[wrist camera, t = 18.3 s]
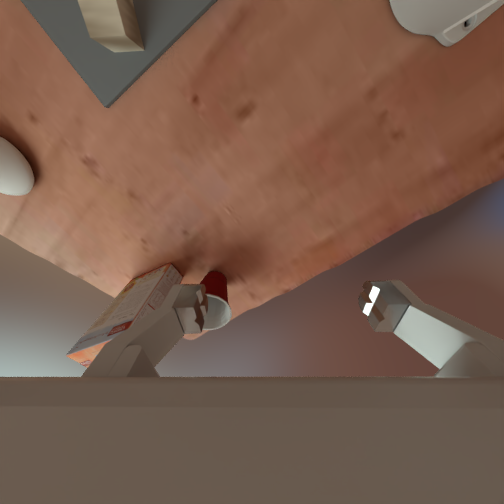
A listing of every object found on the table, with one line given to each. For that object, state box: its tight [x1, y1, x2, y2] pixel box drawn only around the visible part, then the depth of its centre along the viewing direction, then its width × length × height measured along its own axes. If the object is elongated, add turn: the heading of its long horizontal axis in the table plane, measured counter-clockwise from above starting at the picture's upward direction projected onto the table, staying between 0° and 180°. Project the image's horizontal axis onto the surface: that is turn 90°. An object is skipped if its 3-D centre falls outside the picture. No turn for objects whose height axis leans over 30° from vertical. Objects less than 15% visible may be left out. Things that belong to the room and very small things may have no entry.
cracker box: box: [66, 263, 183, 368], centre depth 41 cm, size 14×6×21 cm, turn 115°
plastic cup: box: [200, 271, 232, 330], centre depth 44 cm, size 11×11×12 cm
